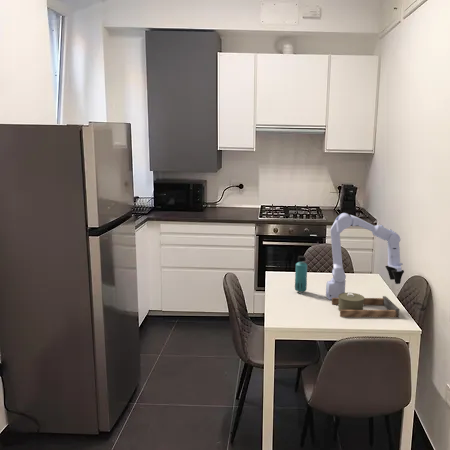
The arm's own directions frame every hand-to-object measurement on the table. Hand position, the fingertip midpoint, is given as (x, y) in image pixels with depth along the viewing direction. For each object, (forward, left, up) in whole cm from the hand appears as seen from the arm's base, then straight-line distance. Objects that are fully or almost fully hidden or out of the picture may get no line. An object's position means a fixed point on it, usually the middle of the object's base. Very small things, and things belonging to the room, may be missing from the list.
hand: (395, 281), depth 230 cm
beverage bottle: (-46, +13, -11) cm, 49 cm away
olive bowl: (-26, -13, -11) cm, 31 cm away
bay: (-19, -13, -10) cm, 26 cm away
